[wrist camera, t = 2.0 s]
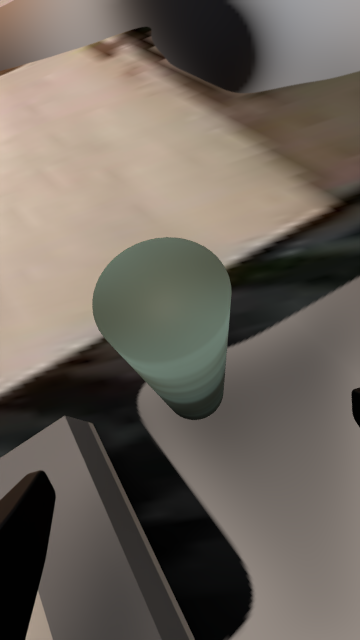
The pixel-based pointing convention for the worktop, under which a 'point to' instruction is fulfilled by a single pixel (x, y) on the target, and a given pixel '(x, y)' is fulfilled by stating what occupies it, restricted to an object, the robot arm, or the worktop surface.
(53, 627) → the keyhole plate
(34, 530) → the robot arm
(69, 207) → the worktop surface
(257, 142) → the worktop surface
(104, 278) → the teal post
